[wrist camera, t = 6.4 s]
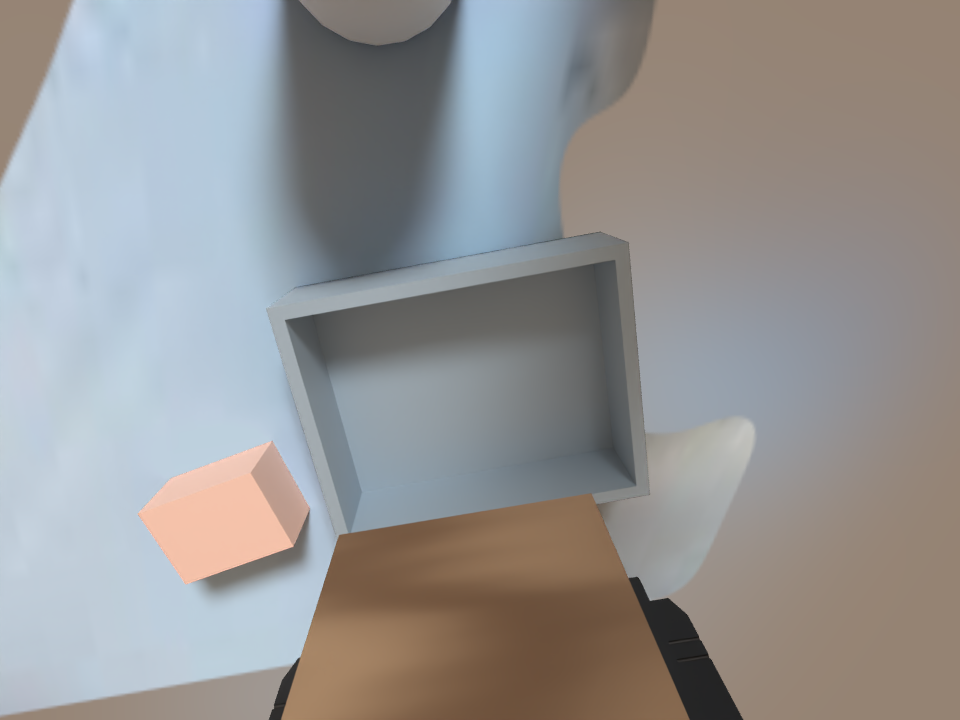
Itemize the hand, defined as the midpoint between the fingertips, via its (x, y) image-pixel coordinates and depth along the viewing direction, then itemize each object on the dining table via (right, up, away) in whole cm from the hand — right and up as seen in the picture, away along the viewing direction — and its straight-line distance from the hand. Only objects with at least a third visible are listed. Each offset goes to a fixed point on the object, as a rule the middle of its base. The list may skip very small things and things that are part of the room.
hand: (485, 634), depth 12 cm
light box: (-13, -1, +18) cm, 23 cm away
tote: (-1, +5, +17) cm, 17 cm away
